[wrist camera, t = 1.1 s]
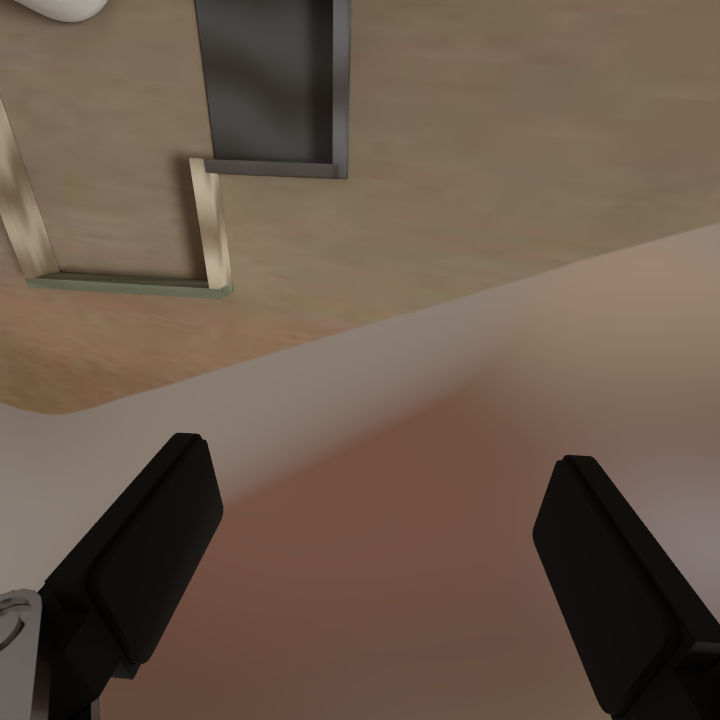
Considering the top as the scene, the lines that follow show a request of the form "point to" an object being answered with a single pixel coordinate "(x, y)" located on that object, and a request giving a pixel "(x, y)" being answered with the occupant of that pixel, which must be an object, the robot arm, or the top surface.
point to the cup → (65, 8)
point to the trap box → (225, 131)
